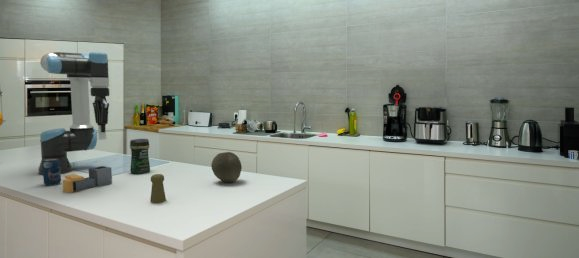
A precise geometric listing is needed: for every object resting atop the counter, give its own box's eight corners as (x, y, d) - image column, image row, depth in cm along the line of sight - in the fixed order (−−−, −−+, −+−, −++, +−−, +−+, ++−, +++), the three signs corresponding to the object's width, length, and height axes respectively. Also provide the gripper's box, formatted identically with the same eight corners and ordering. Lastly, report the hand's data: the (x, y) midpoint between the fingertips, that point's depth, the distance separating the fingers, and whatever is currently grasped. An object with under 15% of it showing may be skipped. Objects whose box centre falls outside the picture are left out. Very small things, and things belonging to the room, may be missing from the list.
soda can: (51, 186, 168) (49, 161, 167) (40, 185, 170) (38, 160, 169) (64, 183, 175) (63, 158, 174) (53, 181, 177) (52, 157, 176)
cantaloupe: (230, 177, 188) (230, 148, 186) (247, 182, 178) (247, 152, 176) (206, 182, 178) (206, 152, 176) (223, 187, 168) (222, 155, 166)
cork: (160, 197, 152) (159, 172, 151) (169, 200, 148) (168, 174, 147) (147, 201, 147) (146, 174, 146) (156, 204, 144) (155, 176, 142)
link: (77, 191, 160) (76, 173, 160) (69, 189, 164) (68, 171, 163) (112, 183, 174) (111, 167, 173) (103, 181, 178) (102, 165, 177)
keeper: (61, 190, 162) (60, 176, 161) (75, 187, 167) (74, 174, 166) (70, 193, 157) (69, 179, 156) (84, 190, 162) (83, 176, 161)
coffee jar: (136, 175, 192) (134, 140, 190) (128, 173, 197) (126, 139, 195) (152, 172, 199) (151, 138, 197) (145, 170, 204) (143, 137, 202)
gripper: (85, 87, 165) (88, 138, 167) (96, 87, 156) (99, 141, 159) (102, 87, 170) (105, 137, 173) (114, 87, 161) (116, 139, 164)
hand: (102, 139), depth 166 cm, fingers closed
